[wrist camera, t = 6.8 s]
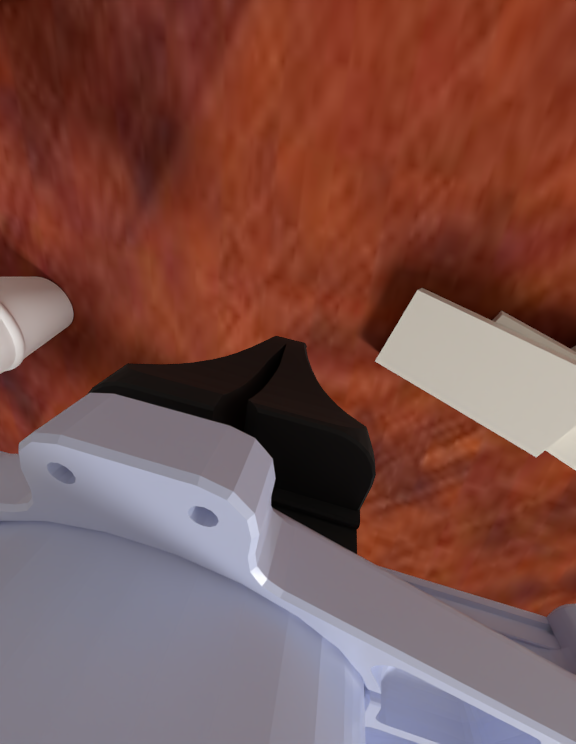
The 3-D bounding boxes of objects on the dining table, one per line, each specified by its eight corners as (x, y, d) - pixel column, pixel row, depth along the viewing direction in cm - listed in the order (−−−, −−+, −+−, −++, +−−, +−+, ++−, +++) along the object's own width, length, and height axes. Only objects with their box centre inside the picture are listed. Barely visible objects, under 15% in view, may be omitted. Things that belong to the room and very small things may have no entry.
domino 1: (374, 361, 19) (536, 457, 15) (417, 289, 16) (623, 387, 13) (381, 354, 20) (532, 442, 17) (422, 287, 17) (610, 376, 14)
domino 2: (441, 380, 18) (606, 491, 16) (502, 314, 16) (718, 434, 13) (444, 372, 20) (598, 474, 17) (501, 310, 17) (697, 419, 14)
